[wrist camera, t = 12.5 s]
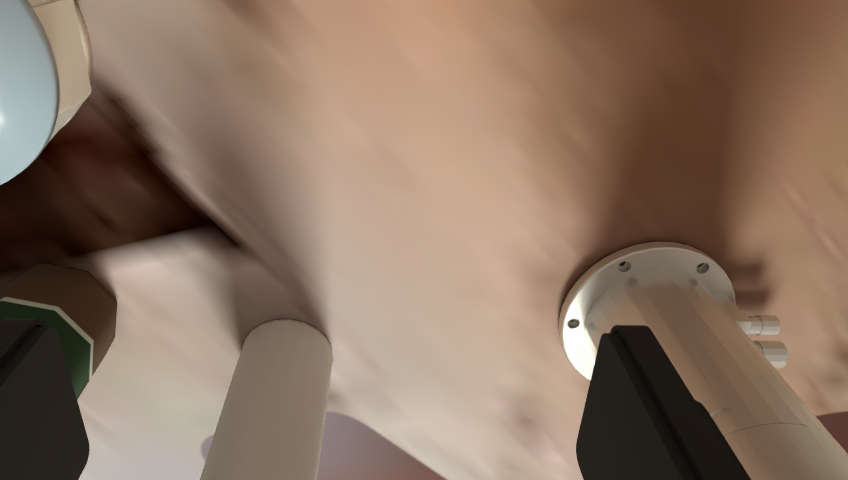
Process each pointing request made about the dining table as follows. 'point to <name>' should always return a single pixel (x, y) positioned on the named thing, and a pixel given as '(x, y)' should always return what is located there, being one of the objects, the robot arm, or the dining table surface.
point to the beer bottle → (66, 314)
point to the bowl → (67, 54)
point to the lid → (25, 88)
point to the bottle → (274, 406)
